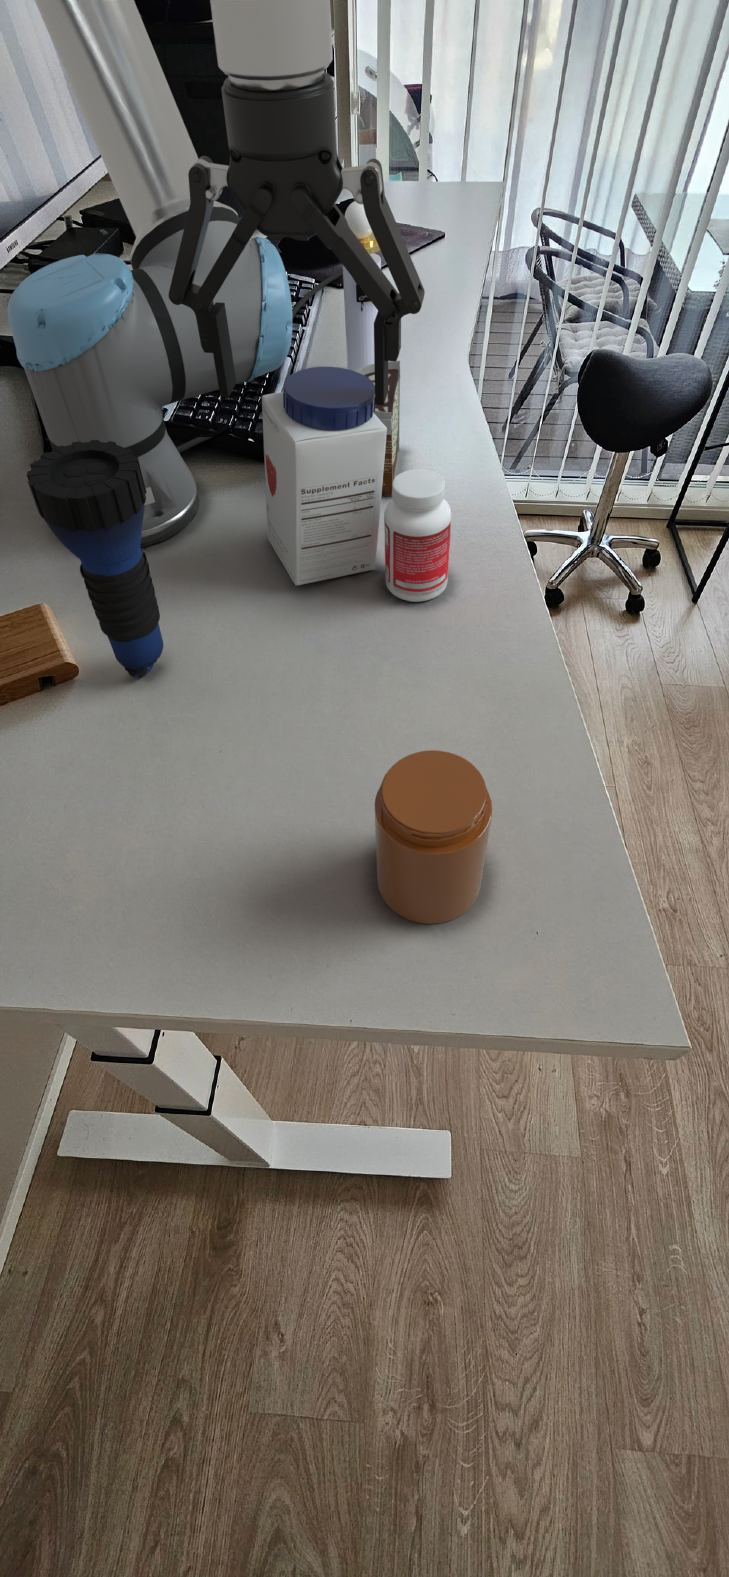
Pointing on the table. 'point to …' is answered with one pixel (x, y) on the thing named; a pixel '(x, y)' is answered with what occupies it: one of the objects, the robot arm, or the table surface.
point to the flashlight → (104, 540)
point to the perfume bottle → (359, 296)
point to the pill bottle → (417, 536)
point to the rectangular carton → (322, 494)
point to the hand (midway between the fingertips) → (304, 394)
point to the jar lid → (329, 398)
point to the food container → (388, 421)
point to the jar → (431, 836)
